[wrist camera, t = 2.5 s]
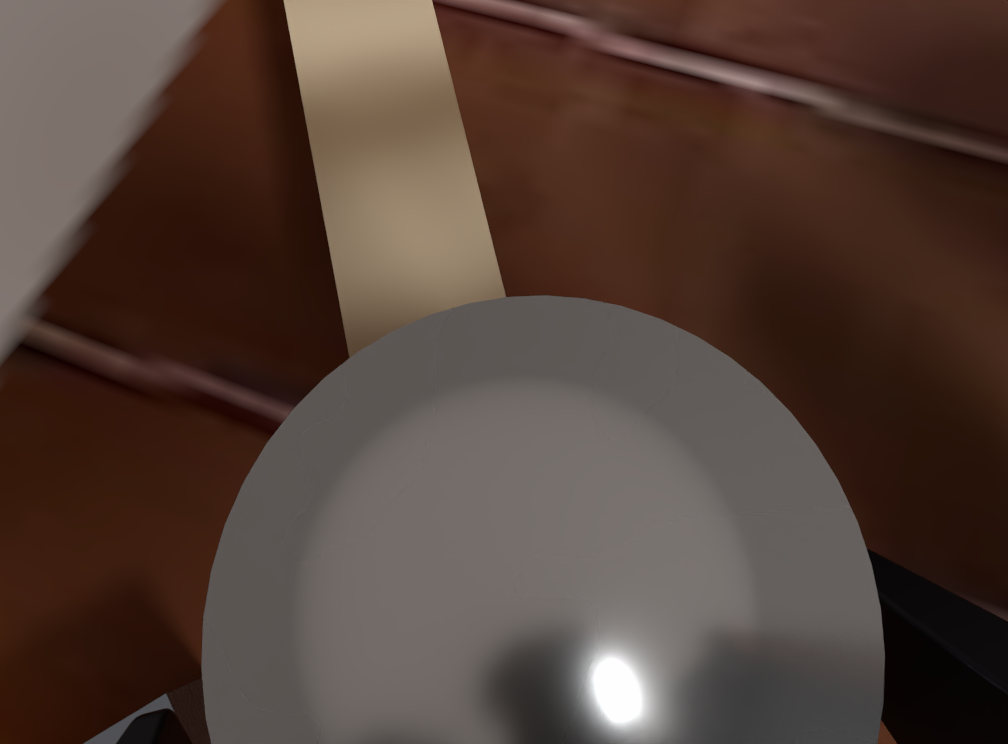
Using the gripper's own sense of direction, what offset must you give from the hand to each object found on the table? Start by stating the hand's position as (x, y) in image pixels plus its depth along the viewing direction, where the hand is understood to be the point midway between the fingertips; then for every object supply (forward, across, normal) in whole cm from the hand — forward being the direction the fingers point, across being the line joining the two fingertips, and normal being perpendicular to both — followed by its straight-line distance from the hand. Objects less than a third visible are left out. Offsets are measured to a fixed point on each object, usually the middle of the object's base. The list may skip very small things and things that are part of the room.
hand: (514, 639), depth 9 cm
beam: (+15, 0, -2) cm, 15 cm away
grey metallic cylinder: (+7, 0, +6) cm, 9 cm away
